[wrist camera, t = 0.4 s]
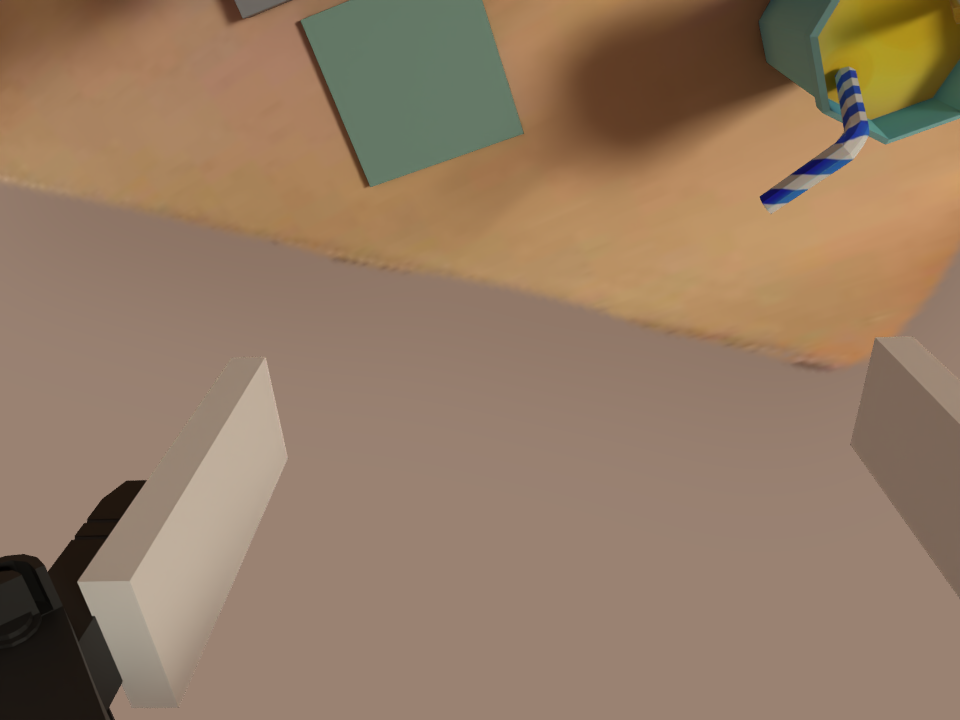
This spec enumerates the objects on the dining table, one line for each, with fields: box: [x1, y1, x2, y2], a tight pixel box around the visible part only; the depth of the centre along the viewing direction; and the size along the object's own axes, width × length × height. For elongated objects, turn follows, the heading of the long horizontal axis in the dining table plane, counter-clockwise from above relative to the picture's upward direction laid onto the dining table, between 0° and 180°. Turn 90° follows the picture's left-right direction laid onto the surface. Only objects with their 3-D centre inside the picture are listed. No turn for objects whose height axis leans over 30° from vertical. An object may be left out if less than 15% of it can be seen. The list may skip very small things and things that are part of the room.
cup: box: [759, 0, 960, 214], centre depth 30 cm, size 14×8×15 cm, turn 134°
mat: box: [301, 0, 524, 187], centre depth 38 cm, size 9×9×1 cm
